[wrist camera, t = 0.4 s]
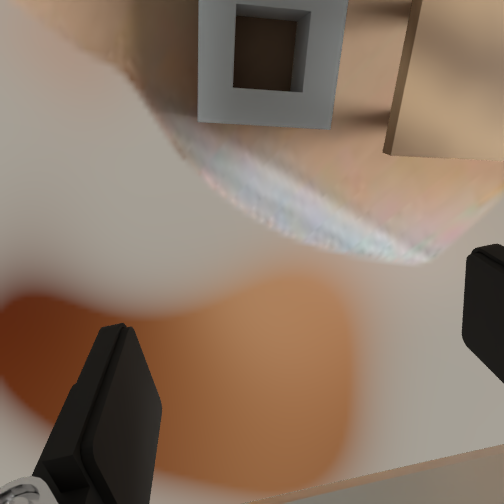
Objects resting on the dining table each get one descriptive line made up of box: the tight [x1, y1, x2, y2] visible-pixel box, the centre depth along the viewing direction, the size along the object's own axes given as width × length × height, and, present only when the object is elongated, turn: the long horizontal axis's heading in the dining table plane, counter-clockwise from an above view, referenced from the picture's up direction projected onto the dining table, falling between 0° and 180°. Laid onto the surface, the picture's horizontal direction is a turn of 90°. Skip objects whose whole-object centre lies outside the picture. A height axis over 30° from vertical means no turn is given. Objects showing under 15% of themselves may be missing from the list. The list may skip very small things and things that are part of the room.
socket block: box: [198, 0, 348, 130], centre depth 31 cm, size 11×11×5 cm
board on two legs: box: [383, 0, 504, 161], centre depth 28 cm, size 12×10×15 cm
